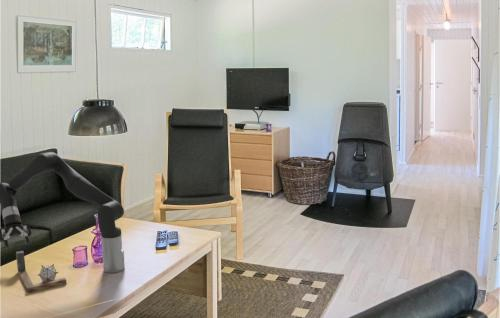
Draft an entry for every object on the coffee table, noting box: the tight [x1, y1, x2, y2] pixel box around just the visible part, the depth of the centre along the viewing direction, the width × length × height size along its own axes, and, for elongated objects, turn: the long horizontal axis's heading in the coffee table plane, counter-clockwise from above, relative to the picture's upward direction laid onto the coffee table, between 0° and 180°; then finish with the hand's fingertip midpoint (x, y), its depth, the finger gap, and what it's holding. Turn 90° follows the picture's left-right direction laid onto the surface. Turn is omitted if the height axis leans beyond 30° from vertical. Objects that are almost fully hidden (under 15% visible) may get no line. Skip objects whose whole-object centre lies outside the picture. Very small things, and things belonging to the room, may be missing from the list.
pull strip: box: [15, 250, 67, 294], centre depth 225 cm, size 16×26×10 cm, turn 34°
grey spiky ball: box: [37, 263, 59, 283], centre depth 222 cm, size 9×8×10 cm
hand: (17, 246), depth 236 cm, fingers open, 8 cm apart
